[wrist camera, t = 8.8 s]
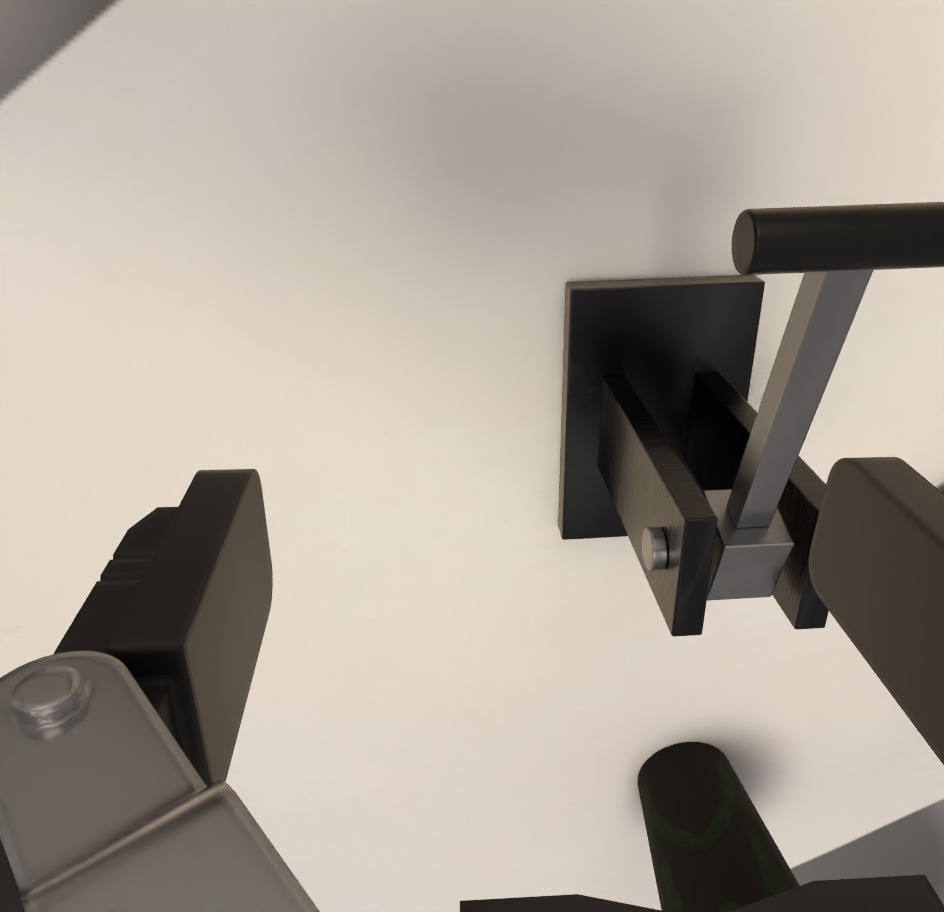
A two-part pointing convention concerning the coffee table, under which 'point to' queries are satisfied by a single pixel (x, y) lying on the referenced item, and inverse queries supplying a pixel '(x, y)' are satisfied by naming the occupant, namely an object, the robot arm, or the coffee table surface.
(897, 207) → the lever
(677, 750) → the cup
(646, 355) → the bracket
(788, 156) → the coffee table surface
